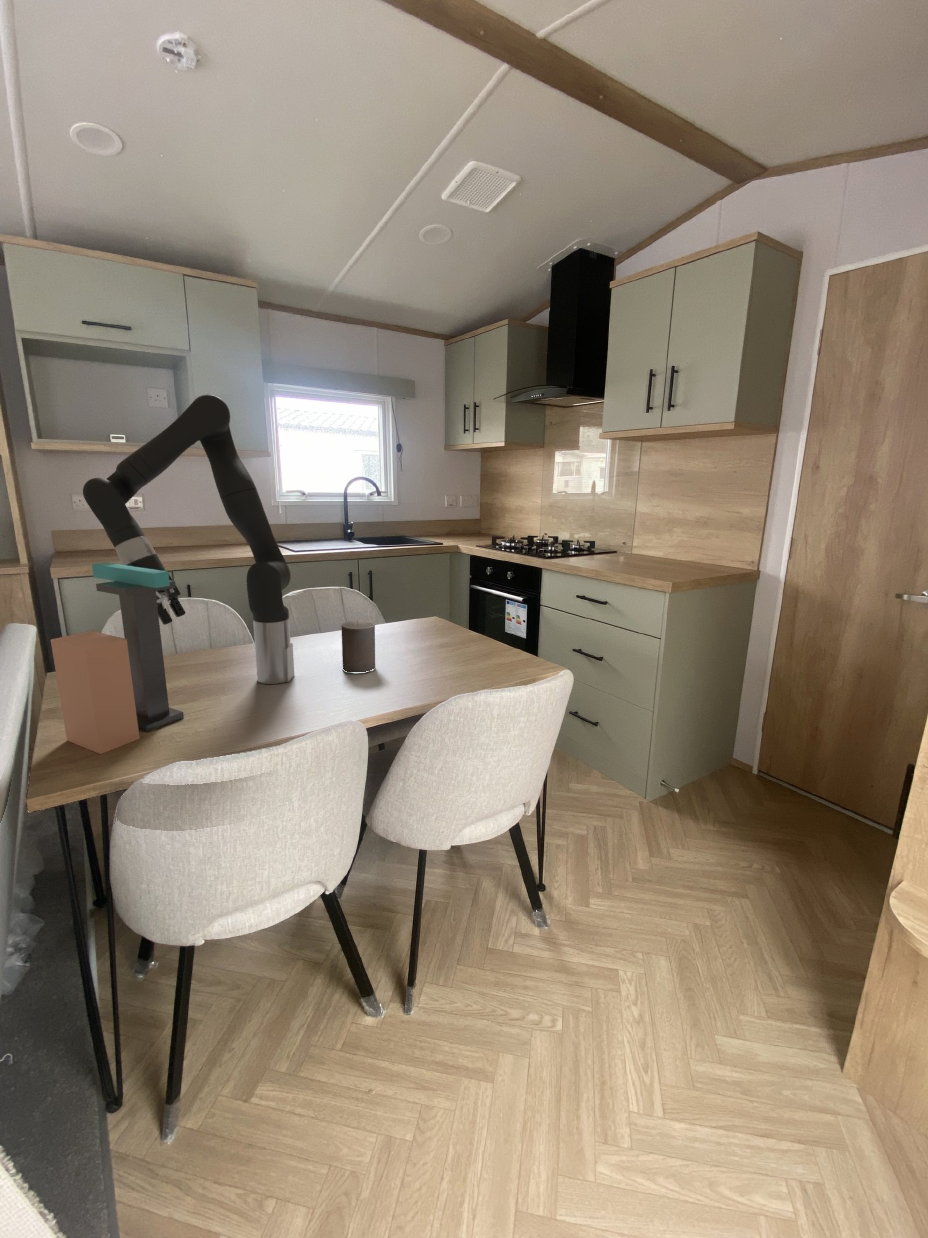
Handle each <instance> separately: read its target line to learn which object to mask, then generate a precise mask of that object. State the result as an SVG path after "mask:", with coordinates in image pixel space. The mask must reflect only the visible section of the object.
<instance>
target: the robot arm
mask: <svg viewBox="0 0 928 1238" xmlns="http://www.w3.org/2000/svg"><path fill="white" fill-rule="evenodd" d="M230 423H231V412H230V408H229V406H228V405H227V403H226V402H225V401H224V400H223V399H222V398H220V397H219V396H217V395H213V394H202V395H199V396H197V397H196V398H195V399H194V400H193V401H192V402H191V404H189V406H188V407H187V408H185V410H184V411H183V412H182V413H181V414H180V415H179V416H178V417H177V418H176V419H175V420H174V421H173V422H172V423H171V424H169V425H168V426H167V427H166V428H165V429H164V430H162V431H161V432H160V433H158V434H157V435H156V436H154V437H153V438H152V439H150V440H149V441H148V442H146V443H145V444H144V445H142V446H141V447H139V448H138V449H137V450H135V451H133V452H132V453H131V454H129V455H128V456H126V457H125V458H124V459H123V460H121V461H120V462H119V463H118V464H117V465H116V467H115V471H114V472H112V473H111V475H109V476H108V477H107V478H104V477H103V478H102V477H94V478H91V479H88V480H87V481H86V482H85V483H84V485H83V487H82V495H83V498H84V501H85V502H86V504H87V505H88V507H89V509H90V510H91V511H92V513H93V514H94V516H95V517H96V519H97V520H98V521H99V523H100V524H101V525H102V527H103V528H104V531H105V533H106V535H107V537H108V539H109V541H110V542H111V544H112V546H113V547H114V549H115V552H116V554H117V556H118V558H119V560H120V562H121V565H126V566H133V567H140V568H147V569H154V570H161V571H166V569H165V566H164V565H163V562H162V561H161V558H160V557H159V556H158V554H157V552H156V551H155V549H154V547H153V545H152V543H151V542H150V541H149V540H148V538H147V537H146V535H145V533H144V532H143V530H142V529H141V526H140V524H139V523H138V522H137V520H136V519H135V518H134V517H133V516H132V514H131V513H130V511H129V509H128V507H127V506H126V505H127V503H128V502H129V501H131V499H132V498H133V497H134V496H135V495H136V494H137V493H138V492H139V491H140V490H141V489H143V487H145V486H147V485H148V484H149V483H151V482H152V481H154V479H156V478H157V477H158V476H161V474H162V473H163V472H165V471H166V470H167V469H169V467H170V466H171V465H172V464H173V463H175V461H176V460H177V459H178V458H179V457H180V456H181V455H182V454H183V453H185V452H186V451H187V450H188V449H189V448H190V447H192V446H193V445H194V444H196V443H198V442H200V444H201V446H202V448H203V451H204V453H205V454H206V457H207V460H208V462H209V464H210V468H211V472H212V476H213V479H214V483H215V486H216V489H217V492H218V494H219V497H220V501H221V503H222V506H223V508H224V512H225V513H226V515H227V517H228V519H229V521H230V522H231V523H232V525H233V527H234V528H235V529H236V530H237V531H238V532H239V533H240V535H241V536H242V537H243V538H244V540H245V541H246V543H247V544H248V547H249V548H250V552H251V553H252V556H253V558H254V559H253V560H254V562H255V563H253V564H252V565H251V566H249V568H248V570H247V573H246V579H245V580H246V592H247V601H248V607H249V610H250V612H251V615H252V618H253V619H252V622H253V624H252V625H253V637H254V639H253V640H254V650H255V651H254V652H255V665H256V676H257V681H258V683H260V684H264V685H276V684H283V683H290V682H291V680H292V679H293V677H294V676H295V662H294V660H295V659H294V646H293V645H294V644H293V642H291V631H290V629H291V627H290V612H289V608H288V606H285V604H284V600H283V599H284V598H283V592H282V591H283V590H284V589H286V588H288V586H289V584H290V582H291V569H290V568H289V565H288V563H287V561H286V559H285V557H284V555H283V553H282V551H281V549H280V547H279V545H278V543H277V541H276V537H274V534H273V530H272V528H271V524H270V522H269V520H268V517H267V514H266V511H265V509H264V505H263V502H262V500H261V497H260V494H259V492H258V489H257V487H256V485H255V483H254V480H253V478H252V477H251V474H250V473H249V471H248V469H247V467H246V466H245V464H244V462H243V461H242V459H241V457H240V456H239V454H238V452H237V449H236V445H235V441H234V440H233V437H232V430H231V429H230ZM168 574H169V580H171V581H174V579H173V578H172V577H171V575H170V573H169V572H168ZM175 587H176V588H172V589H166V590H160V591H156V598H157V607H158V616H159V621H160V622H161V623H162V625H164V626H166V625H168V624H170V623H173V619H172V616H171V615H170V614H169V611H168V610H167V608H166V607H165V603H164V601H166V602H167V603H168V605H169V608H170V609H171V611H172V612H173V614H174V615H175V617H176V618H179V617H182V616H184V615H185V614H186V611H185V609H184V607H183V606H182V604H181V602H180V601H179V600H180V597H179V596H181V591H180V590H179V588H178V586H177V585H176V584H175Z"/></svg>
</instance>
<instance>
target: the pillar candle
mask: <svg viewBox="0 0 928 1238" xmlns="http://www.w3.org/2000/svg"><path fill="white" fill-rule="evenodd" d="M375 626H376V624H375V622H372V621H369V620H367V621H366V620H358V619H357V620H350V621H345V622H343V623H341V657H342V660H341V661H342V668H343V669H344V670H345V671H347V672H366V671H370V670H372V669H374V668H375V669H376V632H375V631H376V627H375Z"/></svg>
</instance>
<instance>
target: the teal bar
mask: <svg viewBox="0 0 928 1238" xmlns="http://www.w3.org/2000/svg"><path fill="white" fill-rule="evenodd" d="M91 569H92V570H91V571H92V577H93V578H96V579H102V580H108V581H111V582H112V581H118V582H124V583H129V584H135V585H141V586H147V587H153V588H159V587H165V586H170V583H169V575H170V573H169V571H167V570H165V571H161V570H154V569H147V568H140V567H133V566H126V565H123V564H119V563H118V564H117V563H112V562H97V563H92V564H91ZM168 573H169V574H168Z"/></svg>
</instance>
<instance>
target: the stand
mask: <svg viewBox="0 0 928 1238" xmlns="http://www.w3.org/2000/svg"><path fill="white" fill-rule="evenodd" d="M169 583H170V586H165V587H159V588H153V587H147V586H141V585H135V584H129V583H124V582H118V581H112V580H111V581H107V582H105V581H104V582H100V583H96V584H95V586H96V587H95V588H96V592H100V593H106V594H112V595H117V596H118V598H119V605H120V614H121V620H122V628H123V635H124V639H127V646H128V653H129V661H130V669H131V677H132V684H133V692H134V700H135V707H136V715H137V723H138V731H139V732H140V731H141V732H144V733H146V734H147V733H150V732H151V731H154V730H156V729H157V730H158V729H159V728H162V727H164V726H167V725H171V723H174V722H177V721H179V720H182V719H184V717H185V716H184V711H182V710H178V709H175V708H172V707H170V705H169V704H170V703H169V695H168V686H167V678H166V671H165V670H166V669H165V661H164V652H163V645H162V635H161V634H162V633H161V627H160V626H161V625H160V618H159V616H158V607H157V598H156V591H160V590H166V589H172V588H176V587H177V586H176V587H175V585H176V581H175V580H173V581H171V580H169Z"/></svg>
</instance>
